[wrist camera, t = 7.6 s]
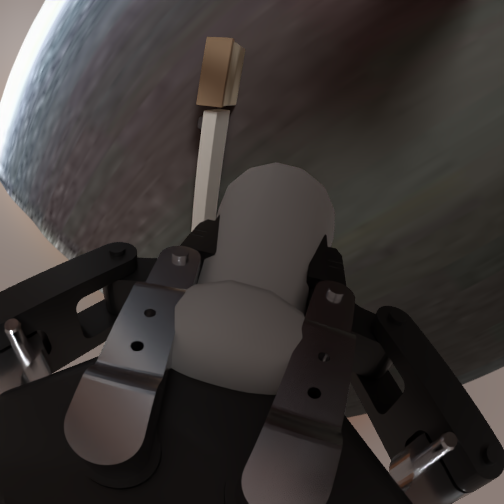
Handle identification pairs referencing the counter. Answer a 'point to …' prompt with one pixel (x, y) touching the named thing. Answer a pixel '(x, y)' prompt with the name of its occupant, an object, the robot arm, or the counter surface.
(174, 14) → the counter surface
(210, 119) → the grey flat bar
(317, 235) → the salt shaker
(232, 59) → the tan bar
